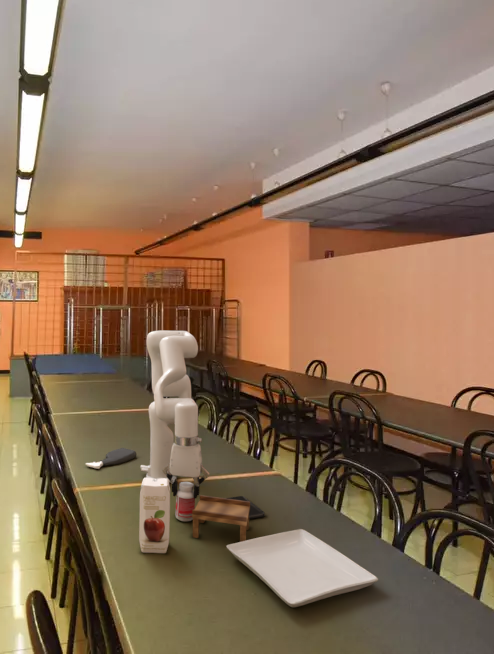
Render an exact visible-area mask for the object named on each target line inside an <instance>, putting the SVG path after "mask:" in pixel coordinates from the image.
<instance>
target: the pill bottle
mask: <svg viewBox="0 0 494 654" xmlns="http://www.w3.org/2000/svg"><path fill="white" fill-rule="evenodd" d="M194 486H195V484H194V483H192V482H190V481H181V482H179V484H178V490H177V494H176V496H175V512H174V513H175V514H174V516H175V518H176V519H177V520H178V521H181V522H191V521H193V518H192V510H193V509H194V510H195V508H196V499H194Z"/></svg>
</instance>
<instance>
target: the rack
mask: <svg viewBox="0 0 494 654" xmlns="http://www.w3.org/2000/svg"><path fill="white" fill-rule="evenodd" d="M226 498H227V497H217V496H211V495H203V494H199V500H198V502H197V504H196V505H195V510H194V509H193V510H192V518H193V520H192V538H195V539H198V538H199V536H200V523H201V524H205V523H206V521H209V522H216V523H223V524H229V525H237V526H239V542H242V541H246V540H247V531H249V529H250V519H249V512H250V502H251V501H250V500H249V501H250V502H249V501H242V500H234V499H226Z"/></svg>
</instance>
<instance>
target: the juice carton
mask: <svg viewBox="0 0 494 654" xmlns="http://www.w3.org/2000/svg"><path fill="white" fill-rule="evenodd" d="M139 491H140V493H139V524H138V525H139V526H138V527H139V528H138V531H139V533H138V542H139V548H140V550H141V553H144V554H145V553H146V554H151V553H154V554H166V553H167V550H168V547H169V543H170V519H171V518H170V517H171V515H170V514H171V513H170V512H171V487H170V483H169V480H168V479H167V478H159V479H153V478H146V476H144V478H143V479H142V481H141V485H140V490H139Z"/></svg>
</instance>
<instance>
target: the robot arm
mask: <svg viewBox="0 0 494 654" xmlns="http://www.w3.org/2000/svg"><path fill="white" fill-rule="evenodd" d="M146 349H147V352H148V355H149V358H150V362H151V363H150V364H151V389H152V394H153V401H152V402H151V403H150V404H149V406H148V418H149V429H150V430H149V431H150V434H149V435H150V445H149V447H150V448H149V459H150V460H149V464H148V465H145V464H141V465H140V467H139V469H140V471H141V472H143V473H145V478H153V479H159V478H167V479H168V480H169V484H171V493H172V496H173V497H176V494H177V491H178V490H179V484H178V483H179V482H178V480H177V479H178V477H184V478H185V477H186V478H192V480H193V482H194V489H193V491H194V499H195V500H196V499H197V498H198V497H199V496H200V485H201V484H202V483H204V481H205V480H207V479H208V478H209V477H210V475H211V474H210V472H209V471H208V470H207V469H206V468H205V467H204V465H203V457H202V448H201V444H199V443H203V438H202V437H199V407H198V404H197V402H195V400H194V399H193V398H192V383H191V378H190V377H189V375H188V374H187V366H186V361H185V359H194V358H196V357H197V355H198V353H199V345H198V342H197V340H196V337H195V336H194V335H193V334H191V333H190V332H189V331H187V330H169V329H168V330H163V329H161V330H152V331H150V332H149V333H148V334H147V335H146ZM169 425H174V432H173V430H172V429H171V428H170V427H169ZM201 474H203V475H202V476H201V477H200V475H201Z"/></svg>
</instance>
